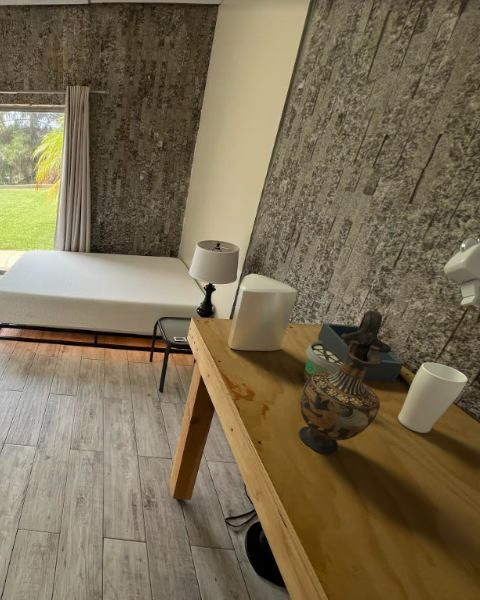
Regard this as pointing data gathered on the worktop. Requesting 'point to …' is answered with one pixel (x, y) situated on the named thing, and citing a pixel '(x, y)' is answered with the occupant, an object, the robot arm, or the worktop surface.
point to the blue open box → (336, 345)
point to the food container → (320, 360)
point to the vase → (343, 391)
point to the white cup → (430, 396)
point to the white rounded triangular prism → (261, 314)
